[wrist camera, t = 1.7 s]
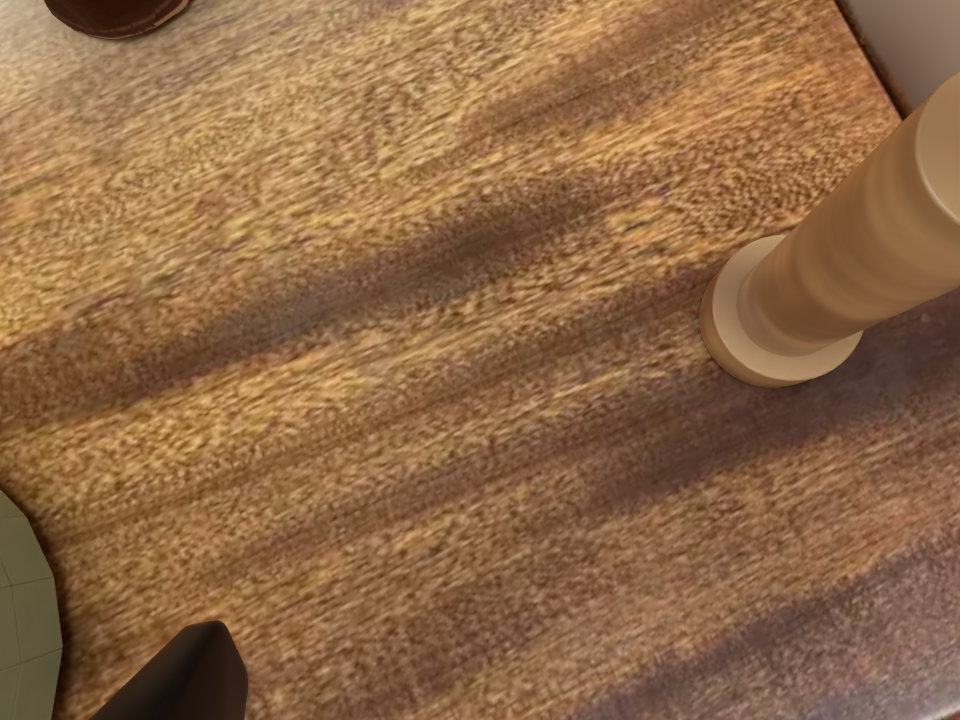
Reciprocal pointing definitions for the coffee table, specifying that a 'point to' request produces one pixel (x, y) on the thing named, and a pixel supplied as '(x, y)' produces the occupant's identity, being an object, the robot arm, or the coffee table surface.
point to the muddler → (846, 258)
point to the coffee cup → (114, 15)
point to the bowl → (26, 621)
